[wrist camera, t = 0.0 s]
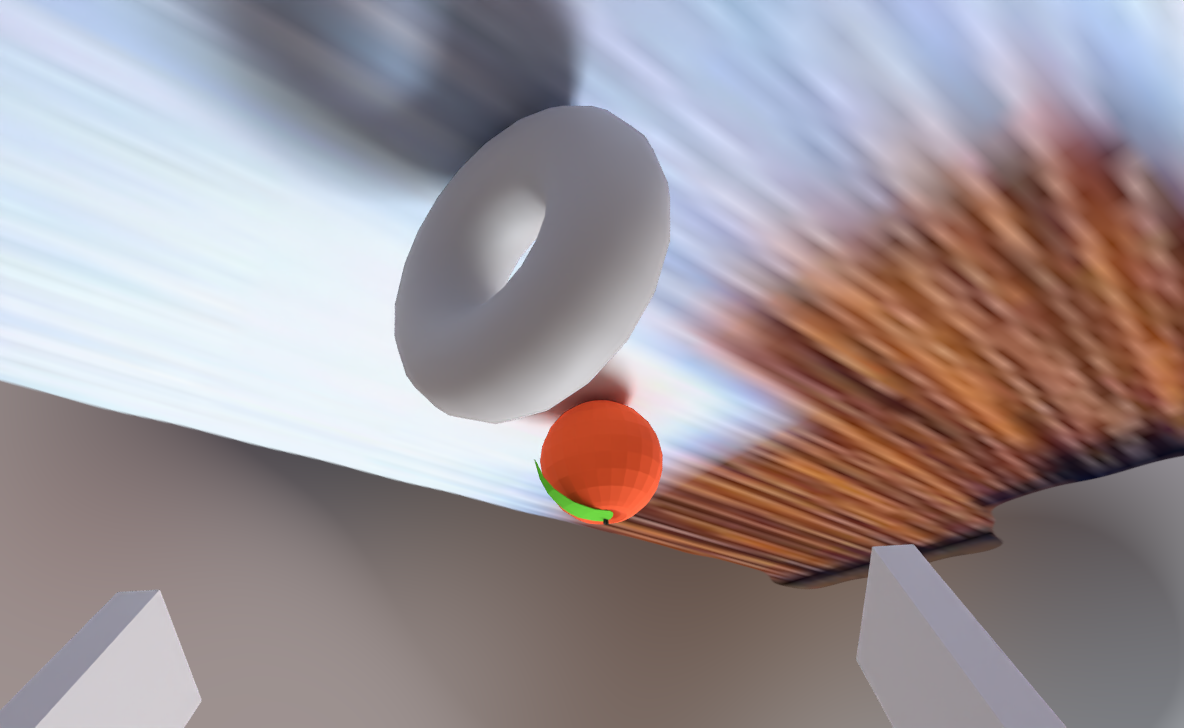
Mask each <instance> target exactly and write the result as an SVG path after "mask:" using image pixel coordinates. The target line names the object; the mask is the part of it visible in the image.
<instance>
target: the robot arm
mask: <svg viewBox="0 0 1184 728" xmlns="http://www.w3.org/2000/svg"><path fill="white" fill-rule="evenodd" d="M856 660H857V662H858V664H859V666H860V667H861V669H862V671H863V673H864V674H865V676H866V678H867V680H868V682H869V684H870V686H871V688H872V689H873V691H874V693H875V695H876V697H877V698H878V700H879V702H880V704H881V706H882V707H883V710H884V711H885V713H886V715H887V717H888V719H889V721H890V722H891V724H892V726H893V728H1067V727H1066V726H1065V725H1064V724H1063V723H1062V721H1060V719H1059V718H1058V717H1057V716H1056V714H1055V713H1054V712H1053V711H1052V710H1051V708H1050V707H1049V706H1048V705H1047V704H1046V702H1045V701H1044V700H1043V699H1042V698H1041V697H1040V695H1039V694H1038V693H1037V692H1036V690H1035V689H1034V688H1033V687H1032V686H1031V684H1030V683H1029V682H1028V681H1027V680H1026V679H1025V677H1024V676H1023V675H1022V674H1021V673H1020V671H1019V670H1018V669H1017V668H1016V667H1015V665H1014V664H1013V663H1012V662H1011V661H1010V659H1009V658H1008V657H1007V656H1006V655H1005V653H1004V652H1003V651H1002V650H1001V649H1000V647H999V646H998V645H997V644H996V643H995V641H994V640H993V639H992V638H991V637H990V635H989V634H988V633H987V632H986V631H985V629H984V628H983V627H982V626H981V625H980V624H979V622H978V621H977V620H976V619H975V618H974V616H973V615H972V614H971V613H970V612H969V610H968V609H967V608H966V607H965V606H964V604H963V603H962V602H961V601H960V600H959V598H958V597H957V596H956V595H955V594H954V592H953V591H952V590H951V589H950V588H949V586H948V585H947V584H946V583H945V582H944V580H943V579H942V578H941V577H940V576H939V575H938V573H937V572H936V571H935V570H934V569H933V568H932V566H931V565H930V564H929V563H928V561H927V560H926V559H925V558H924V557H923V555H922V554H921V553H920V552H919V551H918V549H917V548H916V547H915V546H914V545H913V544H912V545H895V546H878V547H872V553H871V560H870V567H869V574H868V581H867V588H866V595H865V602H864V609H863V616H862V623H861V630H860V637H859V644H858V650H857V657H856ZM201 701H202V700H201V697H200V694H199V692H198V689H197V687H196V684H195V681H194V679H193V676H192V673H191V671H190V668H189V665H188V663H187V660H186V658H185V655H184V652H183V650H182V647H181V644H180V642H179V639H178V636H177V634H176V631H175V629H174V626H173V623H172V621H171V618H170V615H169V613H168V610H167V608H166V605H165V602H164V600H163V597H162V594H161V592H160V590H146V591H130V592H117V593H116V594H115V595H114V596H113V597H112V598H111V599H110V600H109V601H108V603H106V604H105V605H104V606H103V607H102V608H101V609H100V610H99V611H98V613H96V614H95V615H94V616H93V618H91V620H89V621H88V622H87V623H86V624H85V626H83V628H81V630H80V631H79V632H78V633H77V634H76V635H75V636H74V637H73V638H72V639H71V640H70V641H69V642H68V643H67V644H66V645H65V646H64V647H63V648H62V649H61V650H60V651H59V652H58V653H57V654H56V655H55V656H54V657H53V658H52V659H51V660H50V661H49V662H48V663H47V664H46V665H45V666H44V667H43V668H42V669H41V670H40V671H39V672H38V673H37V674H36V675H35V676H34V677H33V678H32V679H31V680H30V681H29V682H28V683H27V684H26V685H25V686H24V687H23V688H22V689H21V690H20V691H19V692H18V693H17V694H16V695H15V696H14V697H13V698H12V699H11V700H10V701H9V702H8V703H7V704H6V705H5V706H4V707H3V708H2V709H1V710H0V728H184V727H185V725H186V724H187V722H188V721H189V719H190V718H191V716H192V715H193V713H194V711H195V710H196V708H197V707H198V705H199V704H200V702H201Z"/></svg>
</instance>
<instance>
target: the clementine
mask: <svg viewBox="0 0 1184 728" xmlns="http://www.w3.org/2000/svg"><path fill="white" fill-rule="evenodd" d="M540 463H541V469H542V472H541V470H540V468H539V466H538V464H537V462H536V460H535V464H536V467H537V471H538V474H539V478H540V480H541V482H542V484H543V486H544V487H545V489H546V491H547V493H548V494H549V495H550V496H551V497H552V499H553V500H554V501H555V502H556V503H557V504H558V505H559V507H560V508H561V509H562V510H563V511H565V512H566V513H568V514H570V515H571V516H573V517H575V518H576V519H578V520H580V521H583V522H586V523H590V524H607V525H609V524H611V523H617V522H621V521H624V520H626V519H628V518H630V517H631V516H633V515H634V514H636V513H637V512H638V511H639V510H641V509H642V508H643V507H644V506H645V505H646V504H647V503H648V502H649V500H650V499H651V497H652V496H653V494H654V493H655V491H656V490H657V487H658V484H659V480H660V477H661V473H662V451H661V447H660V444H659V440H658V438H657V436H656V433H655V432H654V430H653V429H652V427H651V425H650V424H649V422H648V421H647V420H645V419H644V418H643V417H642V416H641V415H640V414H638V413H637V412H636V411H635V410H634V409H632V408H630V407H628V406H626V405H623V404H620V403H617V402H614V401H609V400H594V401H588V402H585V403H582V404H579V405H577V406H575V407H573V408H572V409H570V410H568V411H566V412H565V413H564V414H562V415H561V416H560V417H559V418H558V420H557V421H556V422H555V423H554V424H553V425H552V426H551V428H550V430H549V432H548V434H547V437H546V439H545V441H544V443H543V446H542V452H541V459H540Z"/></svg>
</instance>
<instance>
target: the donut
mask: <svg viewBox="0 0 1184 728" xmlns="http://www.w3.org/2000/svg"><path fill="white" fill-rule="evenodd" d="M535 240H536V242H535V243H534V245H533V247H532V248H531V250H530V252H529V254H528V255H527V257H526V259H525V261H524V262H523V264H522V266H521V267H520V268H519V269H518V271H517V272H516V273H515V274H514V275H513V277H512V278H511V279H510V280H509V281H508V279H509V276H510V275H511V273H512V271H513V269H514V268H515V266H516V264H517V262H518V261H519V259H520V257H521V256H522V255H523V254H524V253H525V251H526V250H527V249H528V248H529V246H530V245H531V244H532V243H533V242H534V241H535ZM669 242H670V195H669V188H668V182H667V180H666V178H665V175H664V173H663V171H662V169H661V166H660V164H659V162H658V160H657V157H656V155H655V153H654V151H653V149H652V147H651V145H650V144H649V142H648V141H647V139H646V137H645V136H644V135H643V134H641V133H640V132H639V131H637V130H636V129H635V128H633V127H632V126H631V125H629V124H628V123H626V122H624V121H623V120H621V119H620V118H618V117H617V116H615V115H614V114H612V113H611V112H609V111H608V110H605V109H601V108H597V107H593V106H557V107H552V108H547V109H545V110H542V111H540V112H537V113H535V114H532V115H529V116H527V117H524V118H522V119H519V120H518V121H516V122H515V123H514V124H512V125H511V126H509V127H508V128H506V129H505V130H504V131H502V132H501V133H499V134H498V135H496V136H495V137H493V138H492V139H491V140H489V141H488V142H487V143H486V144H484V145H483V146H482V147H481V148H480V149H479V150H478V151H477V152H476V153H475V154H474V155H473V156H472V157H471V158H470V159H469V160H468V161H467V162H466V163H465V164H464V165H463V166H462V167H461V168H460V169H459V170H458V172H457V173H456V174H455V175H454V177H453V178H452V179H451V181H450V182H449V183H448V185H447V186H446V187H445V189H444V190H443V191H442V192H441V194H440V195H439V196H438V198H437V199H436V201H435V203H434V204H433V206H432V208H431V209H430V211H429V213H428V215H427V216H426V218H425V220H424V222H423V223H422V225H421V227H420V228H419V230H418V233H417V235H416V237H415V240H414V242H413V245H412V247H411V250H410V252H409V254H408V257H407V259H406V262H405V265H404V269H403V273H402V277H401V281H400V286H399V290H398V294H397V298H396V302H395V339H396V344H397V348H398V351H399V354H400V357H401V360H402V363H403V366H404V370H405V373H406V376H407V377H408V378H409V380H410V381H411V382H412V384H413V385H414V387H415V388H416V389H417V390H418V391H419V392H420V393H422V394H423V395H424V396H425V397H426V398H427V399H428V400H429V401H430V402H431V403H432V404H433V405H434V406H435V407H437V408H438V409H440V410H441V411H443V412H445V413H446V414H448V415H450V416H455V417H460V418H465V419H471V420H476V421H482V422H487V423H493V424H498V423H503V422H508V421H512V420H516V419H519V418H523V417H526V416H530V415H533V414H537V413H541V412H544V411H548V410H549V409H551V408H552V407H554V406H555V405H557V404H558V403H560V402H561V401H563V400H564V399H566V398H567V397H569V396H570V395H572V394H573V393H575V392H576V391H578V390H579V389H581V388H582V387H584V386H585V385H587V384H588V383H589V382H590V381H591V380H592V379H593V378H594V377H595V376H596V375H597V374H598V373H599V371H600V370H601V369H602V368H603V367H604V366H605V365H606V364H607V363H608V362H609V360H610V359H611V358H612V357H613V356H614V355H615V354H616V353H617V352H618V351H619V349H620V348H621V347H622V346H623V345H624V344H625V343H626V342H627V340H628V339H629V337H630V335H631V333H632V332H633V330H634V328H635V326H636V325H637V323H638V321H639V319H640V318H641V316H642V314H643V312H644V311H645V309H646V307H647V305H648V304H649V302H650V300H651V298H652V297H653V295H654V292H655V290H656V286H657V283H658V280H659V276H660V273H661V269H662V266H663V263H664V259H665V256H666V252H667V249H668V246H669ZM507 282H508V283H507Z"/></svg>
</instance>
